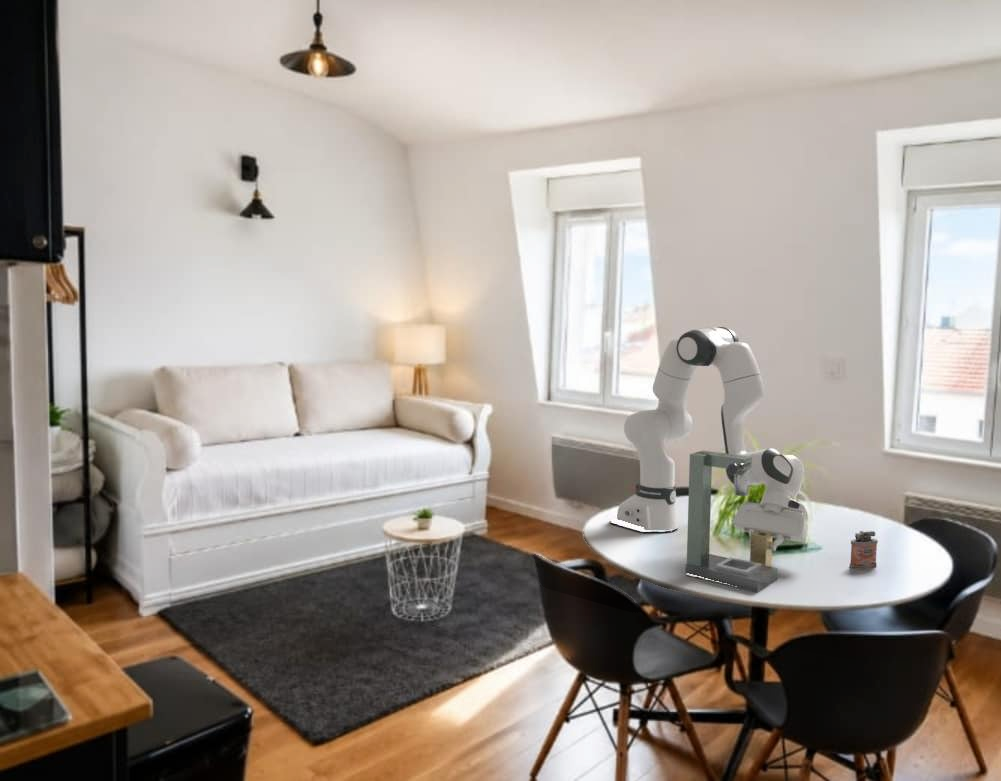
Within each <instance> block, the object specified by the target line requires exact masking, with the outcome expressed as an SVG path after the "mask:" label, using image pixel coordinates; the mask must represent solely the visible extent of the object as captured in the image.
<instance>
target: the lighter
mask: <svg viewBox="0 0 1001 781" xmlns="http://www.w3.org/2000/svg"><path fill="white" fill-rule="evenodd" d="M854 535H855V539H852V540H850V562H849V568H851V569H853V570H863V568H867V569H872V568H871V567H873V568H876V567H877V549H878V548H877V547H878V542H879V541H878V539H877V538H872V537H876V531H874V530H869V531H868V530H867V531H864V530H860V531H859V532H856V533H855V534H854Z"/></svg>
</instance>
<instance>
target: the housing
mask: <svg viewBox="0 0 1001 781" xmlns="http://www.w3.org/2000/svg"><path fill="white" fill-rule="evenodd" d="M773 538H774V537H773V534H771V533H765V532H760V531H757V532H755V533H753V534H751V546H750V550H749V551H750V556H749V557H750V558H749V561H750V562H755V563H760V564H761V565H764V566H768V567H772V564H773V563H772V562H773V560H772V559H773V550H770V549H769V545H770V542H773Z"/></svg>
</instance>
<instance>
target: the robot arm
mask: <svg viewBox="0 0 1001 781" xmlns="http://www.w3.org/2000/svg"><path fill="white" fill-rule="evenodd" d="M710 365H712V366H714V367H715V368H717V370H718V372H719V375H720V377H721V383H722V387H723V393H724V394H723V395H724V397H723V399H724V400H723V404H722V406H721V410H720V414H721V415H720V416H721V418H720V419H721V425H722V427H721V428H722V434H723V441H724V450H725V453H726V454H734V455H742V456H750V457H752V468H750V469H749V487H753V486H755V485H764V486H765V488H766V489H765V491H764V493H763V495H762V499H761V501H760V503H759V502H751V501H746V502H743V503H741V504H740V505H739V507H738V510H737V512H736V514H735V515H734V518H733V519H732V524H733V526H734V528H735V530H737V531H740V532H745V533H748V535H749V540H748V545H749V547H751V534H753V533H755V532H757V531H760V532H765V533H771V534H773V538H776V539H775V540H774V541H772V542H770V545H769V549H770V550H772V552H773V551H774V552H776V549H777V548H778V546H780V545H782V543H784V540H787V541H793V542H798V543H802V542H804V541H805V540H806V537H807V535H808V534H807V533H808V529H809V528H808V527H809V525H808V524H809V523H808V520H809V513H808V510H807V509H806V507H805V505H804V504H803V503H801V502H799V501H796V498H797V495H798V494H799V493H800V490H801V488H802V485H803V481H804V479H805V478H804V477H805V466H804V463H803V462H802V461H801V460H800V458H798V457H797V456H794V455H792V454H783V453H782V452H780V451H779V450H777V449H776V448H773V447H771V448H764V449H758V450H754V451H749V452H747V451H746V445H745V436H744V430H743V424H744V420H745V418H746V416H747V415H748V414H749V413H751V411H753V410H754V409H755V408H756V407H757V406H759V404H760V402H762V399H763V397H764V394H765V385H764V382H763V381H764V380H763V378H762V377H763V376H762V374H761V371H760V368H759V365H758V362H757V360H756V357H755V355H754V352H753V351H752V349H751V347H750V346H749V345H748V344H747V343H746V342H745V343H744V342H742V341H740V340H739V337H738V335H737V333H736V332H735V331H734V330H732V329H730V328H727V327H724V326H718V327H715V326H714V327H713V326H710V327H709V326H708V327H704V328H703V327H702V328H701V329H691V330H688V331H687V332H685V333H683V334H682V335H680V336H679V337H675V338H673V339H672V340H670V341H669V343H668V344H667V346H666V348H665V350H664V352H663V354H662V356H661V360H660V362H659V364H658V368H657V371H656V375H655V377H654V381H653V385H652V392H653V394H654V396H655V397H656V398H657V399H658V405H657V407H656V408H655V409H649V410H640V411H637V412H635V413H632V414H630V415H629V416H627V418H626V419H625V421H624V424H623V426H624V427H623V430H624V435H625V437H626V439H627V440H628V441H629V442H630V443H631V444H632V445H633V446H634V447H635V449H636V452H637V454H638V455H637V456H638V459H639V468H640V470H639V472H640V473H639V474H640V475H639V476H640V477H639V481H640V482H639V483H638V484H637V483H636V485H633V486H632V487H633V488H632V490H633V491H634V490H635V492H634V494H632V496H630V497H629V498H627V499H626V500H624V501H623V502H622V503H620V504H619V506H618V508H617V513H616V516H617V519H618V520H622V521H625V522H628V523H631V524H634V525H637V526H641V527H644V529H645V530H670V529H675V528H677V527H679V524H678V521H677V520H678V519H677V515H676V504H675V503H676V497H677V493H676V490H677V486H676V484H675V483H676V482H675V481H676V480H675V479H676V478H675V476H676V475H675V474H676V463H675V460H674V459H673V458H672V457H671V456H669V455H668V454H667V452H666V448H665V443H671V442H677V441H680V440H682V439H685V438H687V437H688V436H689V435H690V434H691V432H692V430H693V419H692V416H691V415H690V413H689V412H688V410H687V399H688V395H689V391H690V388H691V384H692V380H693V378H694V375H695V371H696V368H697V367H710ZM725 473H726V476H727V478H728V480H729V481H730V483H731V484H733V485H734V479H735V474H734V475H733V474H730V473H729V472H728V470H727V469H726V468H725Z"/></svg>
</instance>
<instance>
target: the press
mask: <svg viewBox="0 0 1001 781" xmlns="http://www.w3.org/2000/svg"><path fill="white" fill-rule="evenodd" d="M688 468H689V471H688V472H689V475H688V500H687V502H688V503H687V504H688V505H687V506H688V508H687V511H688V513H687V541H686V542H687V543H686V544H687V545H686V564H685V574H686V573H689V574H693V575H697V576H701V577H704V578H708V579H711V580H714V581H719V582H722V583H727V584H730V585H733V586H737V587H740V588H739V589H741V588H744V589H743V590H745V589H748V590H747V591H749V590H752V591H751V592H753V591H755V592H754V593H758V591H759V592H760V591H762V590H763V589H765V588H766V587H768V586H770V585H772V584H773V583H774V582H776V581H777V580H778V569H779V568H777V567H773V566H770V567H768V566H764V565H761V564H760V563H755V562H750V560H745V559H740V558H737V557H736V558H735V557H732V556H731V557H725V556H722V555H716V554H712V553H710V540H711V539H710V538H711V536H710V535H711V534H710V533H711V506H712V502H711V501H712V478H713V477H712V471H713V470H712V469H713V468H720V469H725V470H726V469H727V470H728V472H729V473H730V474H733V475H734V474H735V479H734V484H733V485H734V487H733V494H734V495H735V496H741V497H742V496H743V497H745V496H749V469H750V468H752V457H750V456H742V455H734V454H726V452H718V451H717V452H716V451H709V450H700V451H697V452H692V453H689V466H688ZM772 582H773V583H772ZM769 584H770V585H769ZM737 587H736V588H737Z"/></svg>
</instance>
